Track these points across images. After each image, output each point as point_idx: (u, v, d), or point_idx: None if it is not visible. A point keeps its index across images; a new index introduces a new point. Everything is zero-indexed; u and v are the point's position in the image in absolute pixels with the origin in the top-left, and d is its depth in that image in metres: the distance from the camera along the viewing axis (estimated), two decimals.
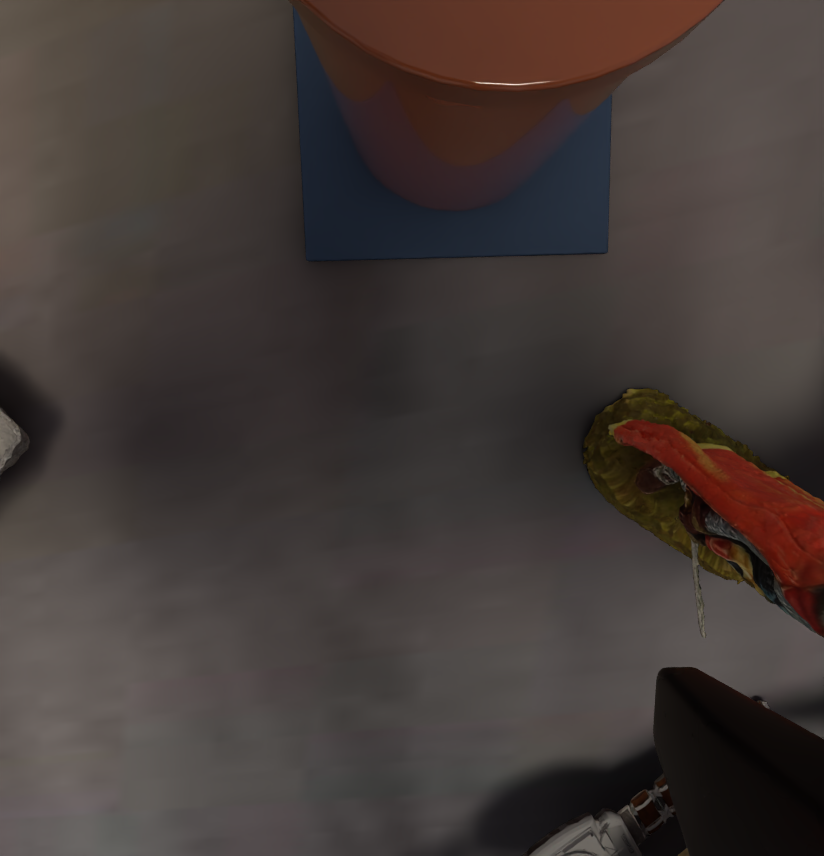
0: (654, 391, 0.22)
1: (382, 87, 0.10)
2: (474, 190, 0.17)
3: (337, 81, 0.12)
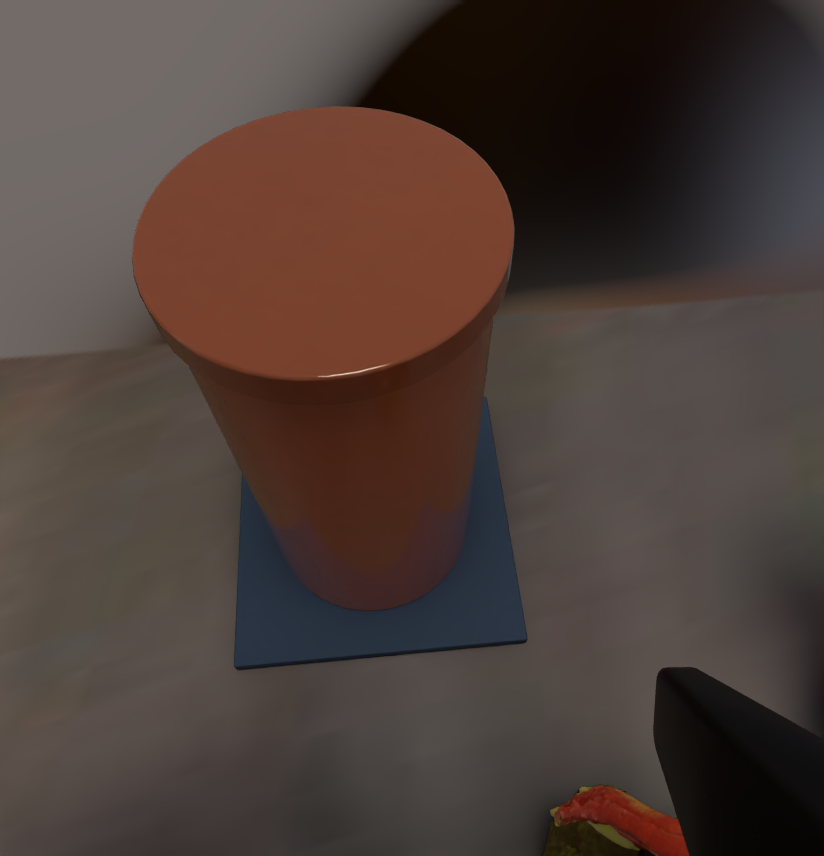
0: None
1: (252, 420, 0.13)
2: (378, 566, 0.19)
3: (236, 449, 0.15)
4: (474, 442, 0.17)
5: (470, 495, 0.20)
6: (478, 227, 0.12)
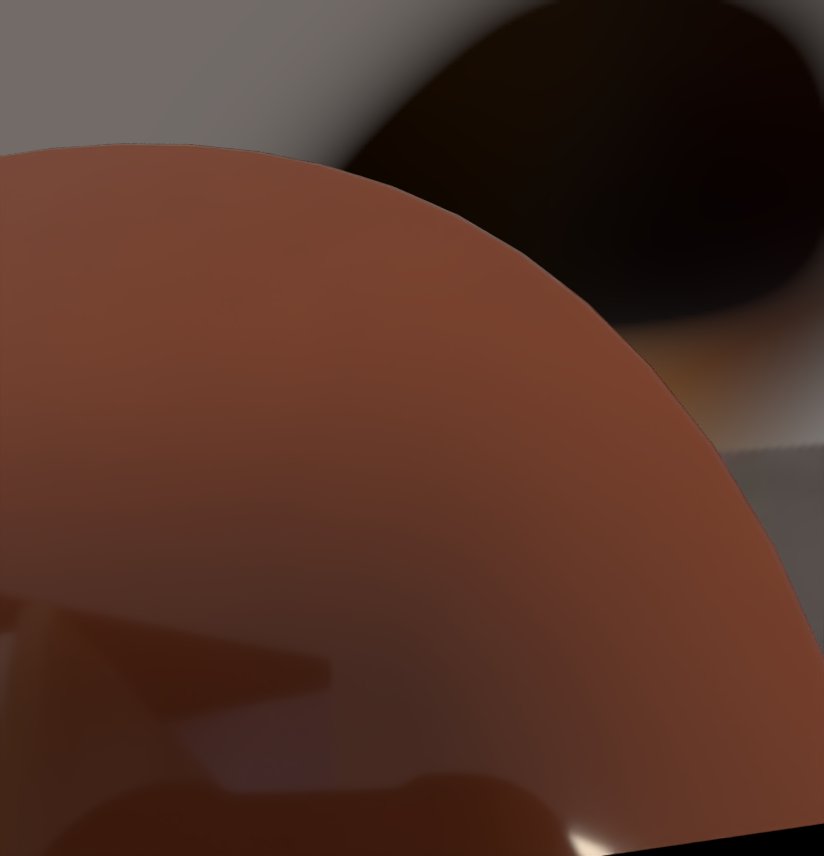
0: None
1: None
2: None
3: None
4: None
5: None
6: (661, 838, 0.02)
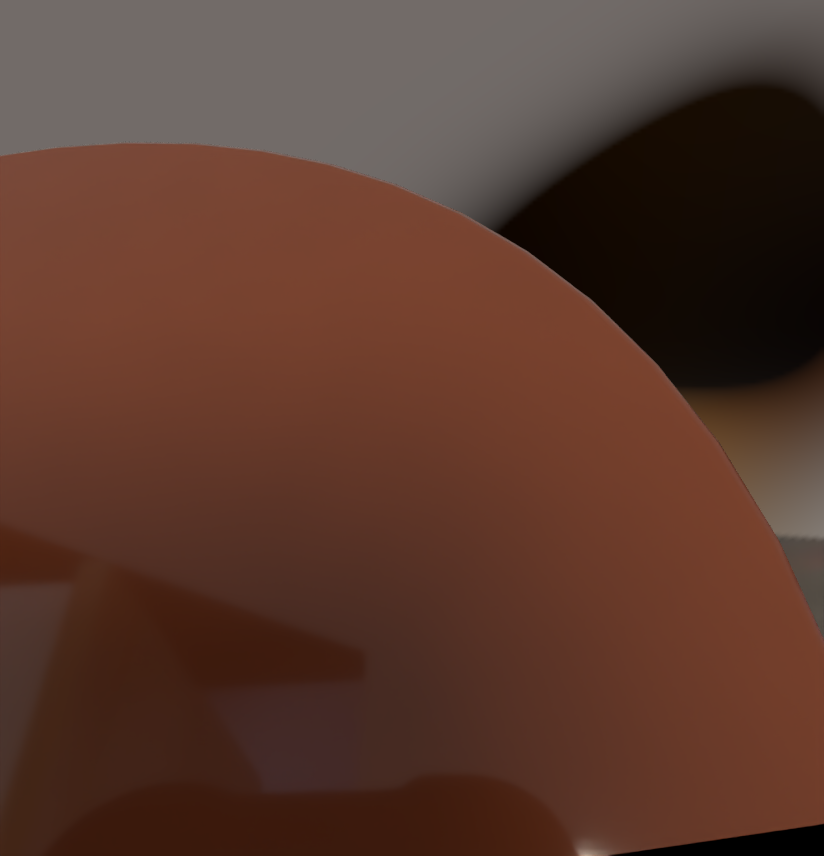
0: None
1: None
2: None
3: None
4: None
5: None
6: (668, 832, 0.02)
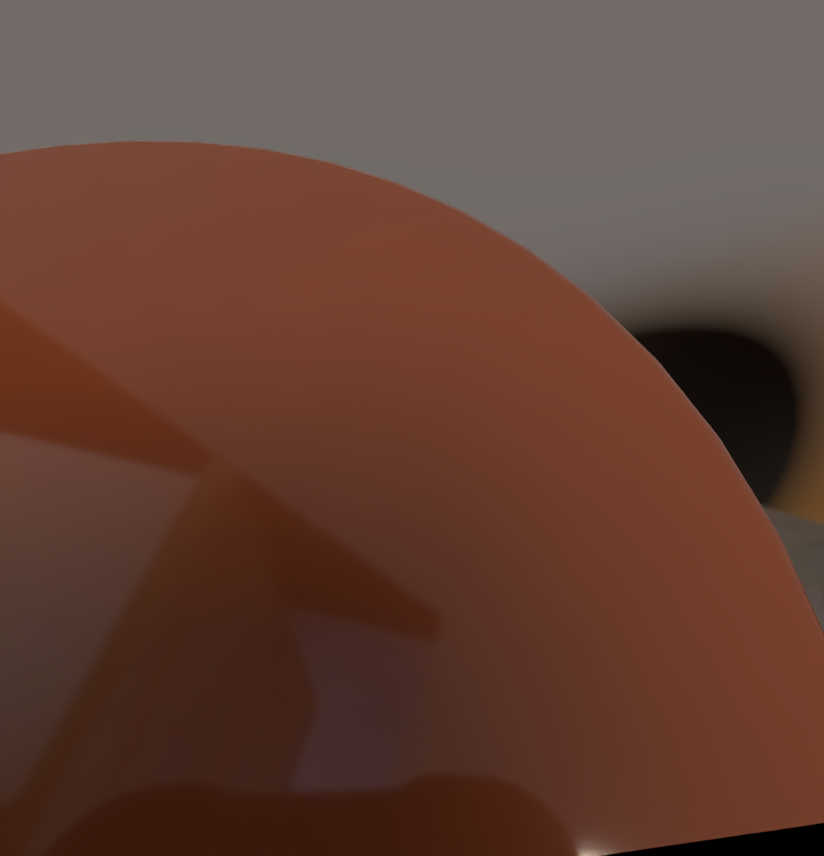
0: None
1: None
2: None
3: None
4: None
5: None
6: (669, 825, 0.02)
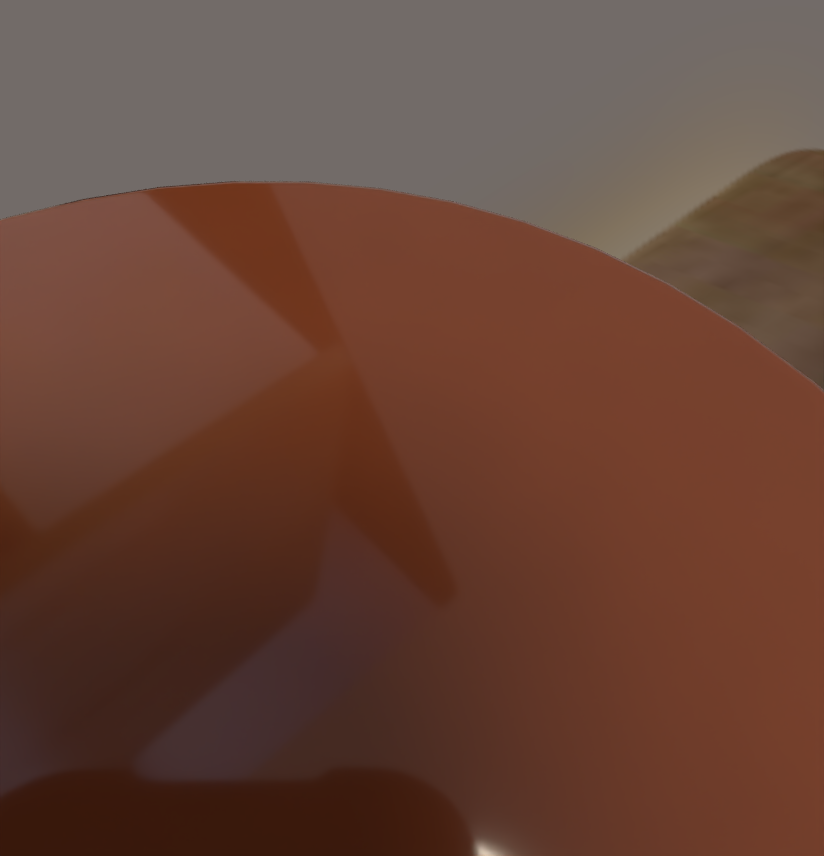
0: None
1: None
2: None
3: None
4: None
5: None
6: None
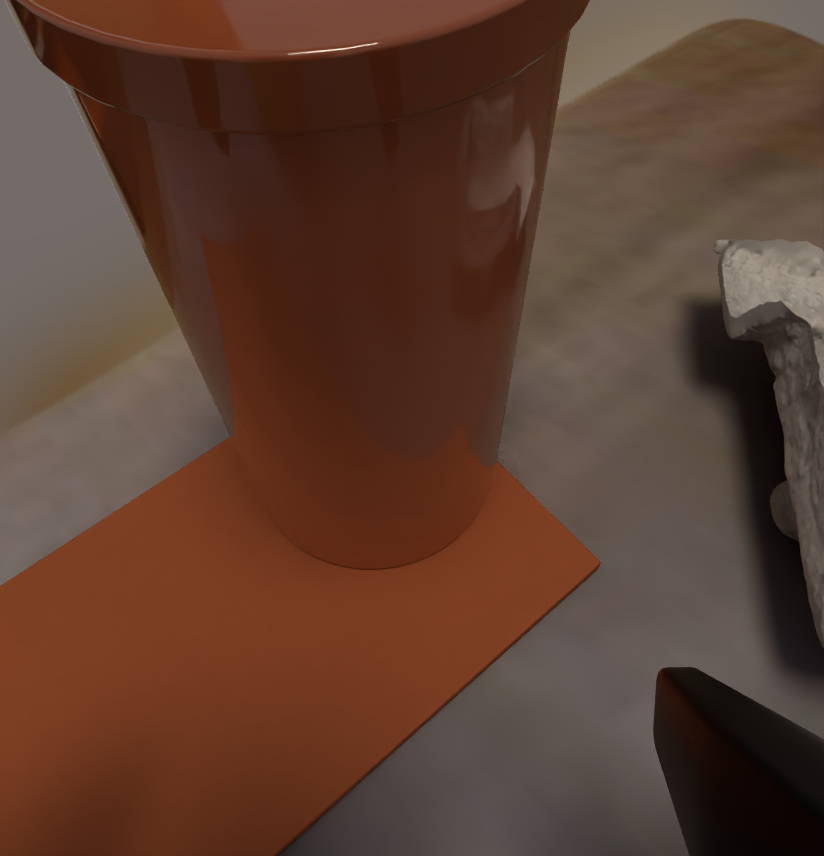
0: None
1: (180, 202, 0.08)
2: (380, 498, 0.14)
3: (174, 295, 0.10)
4: (517, 315, 0.12)
5: (503, 413, 0.15)
6: None
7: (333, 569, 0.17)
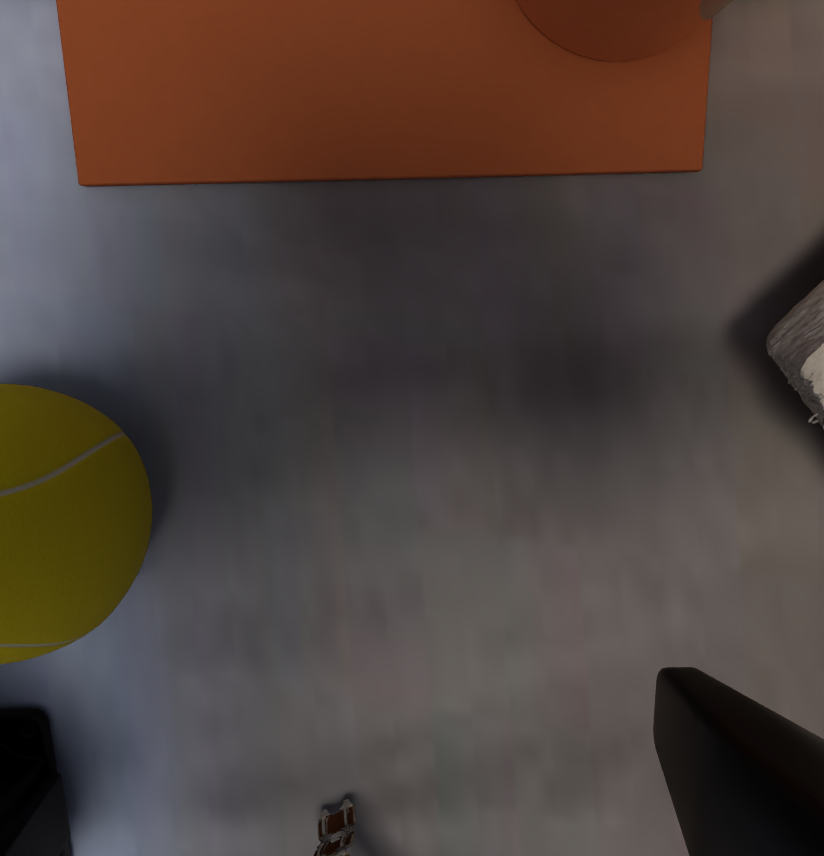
0: None
1: None
2: None
3: None
4: None
5: None
6: None
7: (513, 7, 0.18)
